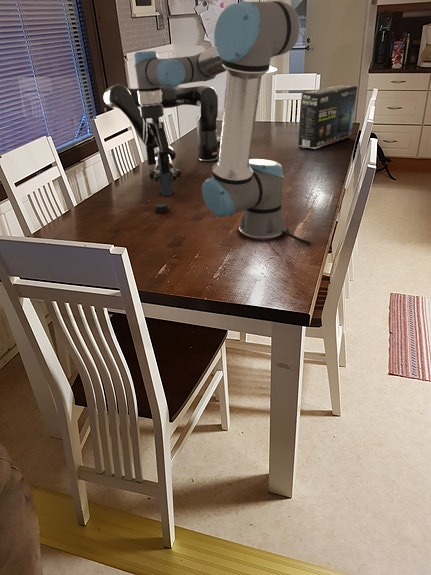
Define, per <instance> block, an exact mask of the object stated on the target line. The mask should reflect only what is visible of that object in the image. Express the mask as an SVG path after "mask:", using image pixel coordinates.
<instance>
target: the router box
mask: <svg viewBox="0 0 431 575" xmlns="http://www.w3.org/2000/svg"><path fill="white" fill-rule="evenodd" d="M357 93H358V86H356V85H350V84H339V85H338V84H337V85H334V86H328V87H324V88H318V89H314V90H309V91H304V92H301V93H300V109H299V110H300V111H299V124H298V137H297V146H298V145H302V146H307V147H317V146H320V145H323V144H325V143H328V142H331V141H333V140H336V139H338V138H341V137H344V136H347V135H351V136H352V133H353V132H352V131H353V125H354V115H355V109H356V99H357ZM311 151H313V150H312V149H311Z"/></svg>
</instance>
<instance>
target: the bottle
mask: <svg viewBox="0 0 431 575" xmlns="http://www.w3.org/2000/svg"><path fill="white" fill-rule="evenodd" d="M157 151H159V149H158V150H157ZM159 152H160V151H159ZM159 152H158V153H159ZM157 158H158V159H157V160H158V170H159V179H158V181H159V188H160V195H161V196H164V197H166V196H172V195H173V194H174V193H173V183H172V182H173V178H171V168H170V158H169V154H168V163H169V172H170V173H165V174H161V166H160V157H159V155H158V157H157Z"/></svg>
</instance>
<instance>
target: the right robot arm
mask: <svg viewBox="0 0 431 575" xmlns="http://www.w3.org/2000/svg"><path fill="white" fill-rule="evenodd" d="M301 29H302V28H301V20H300V16H299V14H298V13H297V10H295V8H294V7H293V6H291V4H289V3H286V2H284V1H282V0H281V1H280V0H273V1H246V0H245V1H244V0H243V1H240V2H233V3H232V4H229V5H228V6H226V7H225V8H224V10H223V11H222V12H220V14H219V16H218V17H217V20H216V22H215V26H214V31H213V32H214V33H213V42H214V45H213V46H211V47H210V48H209V47H208V49H205V50H204V51H202V52H199V53H198V54H194V55H189V56H179V57H169V58H159V55H158V53H157V51H155V50H144V51H135V52H134V54H133V60H134V62H133V64H134V65H133V67H134V72H135V81H136V86H137V87H136V88H138V98H139V103H140V104H141V106H140V107H139V110H140V112H141V117H142V118H143V124H144V125H143V142H142V143H143V144H144V143H145V144H144V146H145V149H146V150H145V151H146V159H147V165H148V166H153V165H156V161H155V153H156V152H155V148H154V146H151V145H154V142H153V139H154V137H155V140H156V143H157V145H158V147H157V148H158V150H159V151H160V152H159V153H158V155H159V157H160V166H161V174H165V173H170V172H169V163H168V153H170V149H169V146H170V145H169V141H168V137H167V133H166V129H165V122H164V121H160V118H162V117H164V113H165V112H164V108H163V105H162V104H161V102H162V95H163V93H162V92H161V86H165V87H180V86H181V85H185V84H192V83H197V82H207V81H208V82H209V81H212V80H214V79H215V78H216V76H217V75H220V74H223V73H225V72H226V82H225V92H224V103H223V110H222V121H221V122H222V123H221V130H220V131H221V134H220V135H221V141H220V143H219V152H218V160H217V162H216V163H214V164H213V166H212V168H211V169H212V170H211V177H209V178H206V180H205V181H203V183H202V184H201V185H202V186H201V193H202V194H201V195H202V198H203V201H204V204H205V205H206V207H207V209H208V210H209V211H210V213H212V214H213V215H215V216H216V217H219V218H225V217H228V216H233V215H235V214H238V213H240V212H243V213H242V216H241V220H240V222H239V225H238V232H239V235H240V236H241V237H242V238H244V239H247V240H250V241H254V242H271V241H277V240H279V239H281V238H283V237H285V235H286V236H288V237H290V238H292V239H293V240H296V241H297V242H300V243H303V244H307V245H310V244H311V241H310V240H307V239H303V238H300V237H298V236H296V235H294V234H292V233H290V232H288V231H287V223H286V221H285V216H284V214H283V210H282V200H283V183H284V174H283V173H284V172H283V171H284V169H283V166H282V164H281V163H280V162H278V161H274V160H270V159H260V158H252V159H250V158H251V154H252V147H253V146H252V145H253V139H254V131H255V125H256V119H257V118H256V117H257V113H258V112H257V111H258V105H259V98H260V93H261V92H260V91H261V83H262V79H263V78H262V77H263V76H264V75H265V74H266V73H268V72H269V70H270V65H271V59H272V58H274V57H277V56H281V55H284V54H286V53H288V52H290V51H291V50H292V49H293V48H294V47H295V46H296V44H297V43H298V40H299V38H300V34H301Z"/></svg>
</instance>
